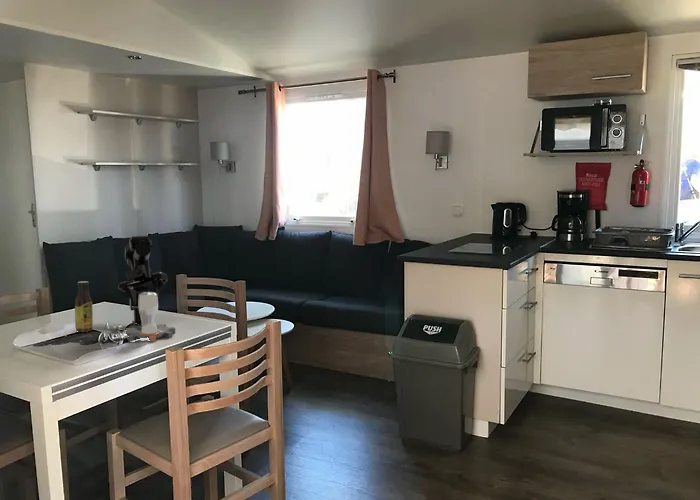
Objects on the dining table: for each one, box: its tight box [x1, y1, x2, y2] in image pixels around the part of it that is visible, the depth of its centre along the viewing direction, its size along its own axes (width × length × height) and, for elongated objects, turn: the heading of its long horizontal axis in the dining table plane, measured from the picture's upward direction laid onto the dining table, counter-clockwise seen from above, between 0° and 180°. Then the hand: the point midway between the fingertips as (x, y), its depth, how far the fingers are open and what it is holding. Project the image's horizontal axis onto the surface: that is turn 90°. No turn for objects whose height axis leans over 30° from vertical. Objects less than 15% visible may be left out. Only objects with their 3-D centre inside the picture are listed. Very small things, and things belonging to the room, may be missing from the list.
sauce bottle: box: [74, 280, 94, 333], centre depth 224 cm, size 6×6×20 cm
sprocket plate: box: [125, 324, 176, 343], centre depth 220 cm, size 20×20×2 cm
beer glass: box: [138, 291, 159, 334], centre depth 215 cm, size 7×7×15 cm
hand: (145, 302), depth 223 cm, fingers open, 9 cm apart
